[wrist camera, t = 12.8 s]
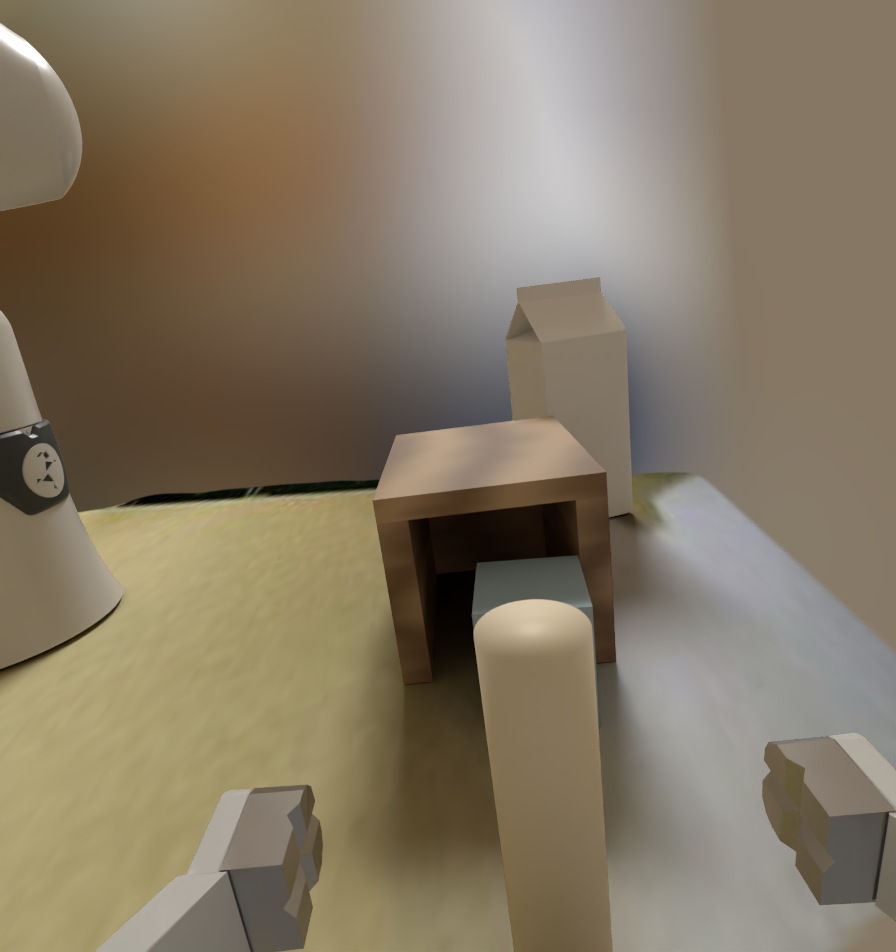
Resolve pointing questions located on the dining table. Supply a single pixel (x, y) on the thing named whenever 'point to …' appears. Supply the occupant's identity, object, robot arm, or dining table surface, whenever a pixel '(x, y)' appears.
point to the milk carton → (575, 373)
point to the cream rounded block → (544, 749)
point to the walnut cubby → (488, 519)
